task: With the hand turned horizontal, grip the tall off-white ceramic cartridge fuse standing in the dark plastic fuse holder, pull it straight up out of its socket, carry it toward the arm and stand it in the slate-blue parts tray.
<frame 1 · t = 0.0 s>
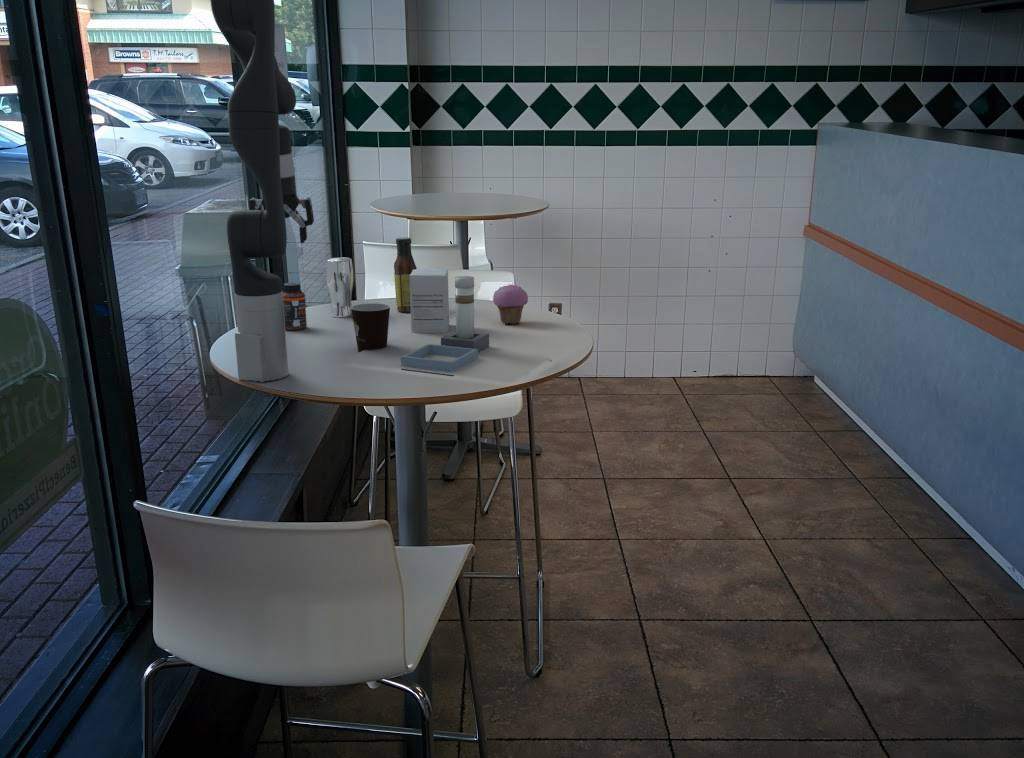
hand: (284, 242, 209), 22 cm above the table, tool pointing down, fingers open, 8 cm apart
beer glass: (342, 316, 238), on the table
fuse holder: (465, 353, 199), on the table
fuse: (465, 348, 199), point 1 cm above the table, touching fuse holder
parts tray: (440, 366, 188), on the table
cupcake: (510, 324, 228), on the table
supplement box: (430, 333, 219), on the table
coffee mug: (372, 349, 203), on the table
sauce bottle: (407, 311, 243), on the table
supplement bottle: (294, 329, 223), on the table
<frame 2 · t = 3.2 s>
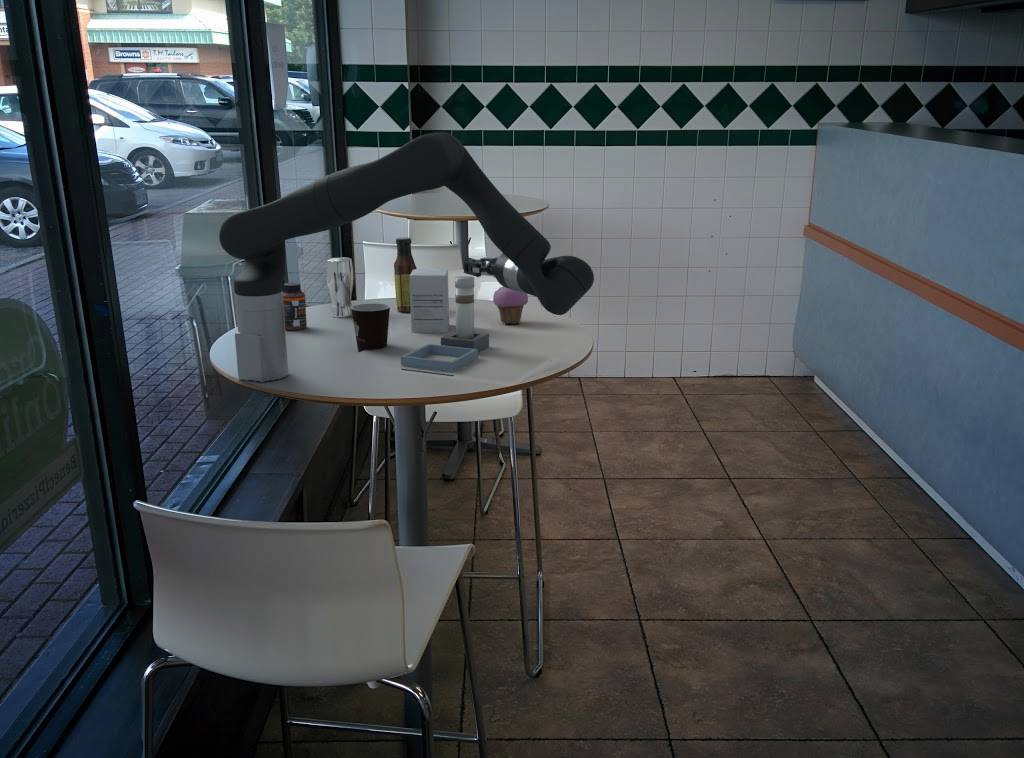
hand: (485, 261, 184), 22 cm above the table, tool horizontal, fingers open, 8 cm apart
nothing on the table moved.
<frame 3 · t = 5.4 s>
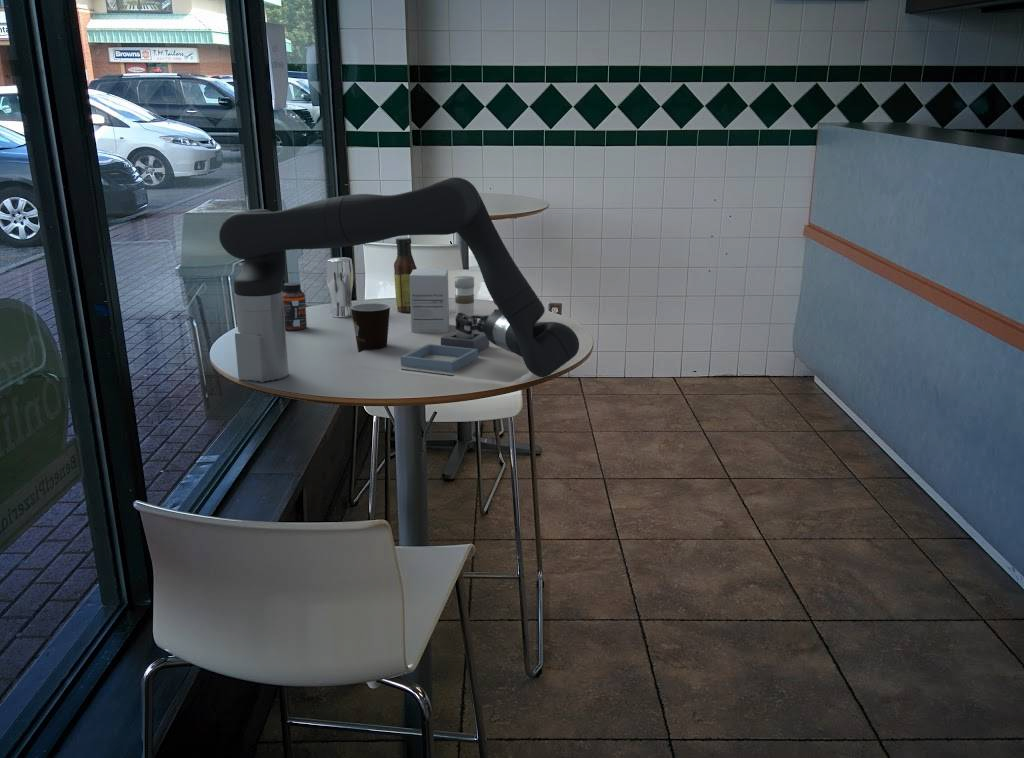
hand: (477, 315, 190), 10 cm above the table, tool horizontal, fingers open, 8 cm apart
nothing on the table moved.
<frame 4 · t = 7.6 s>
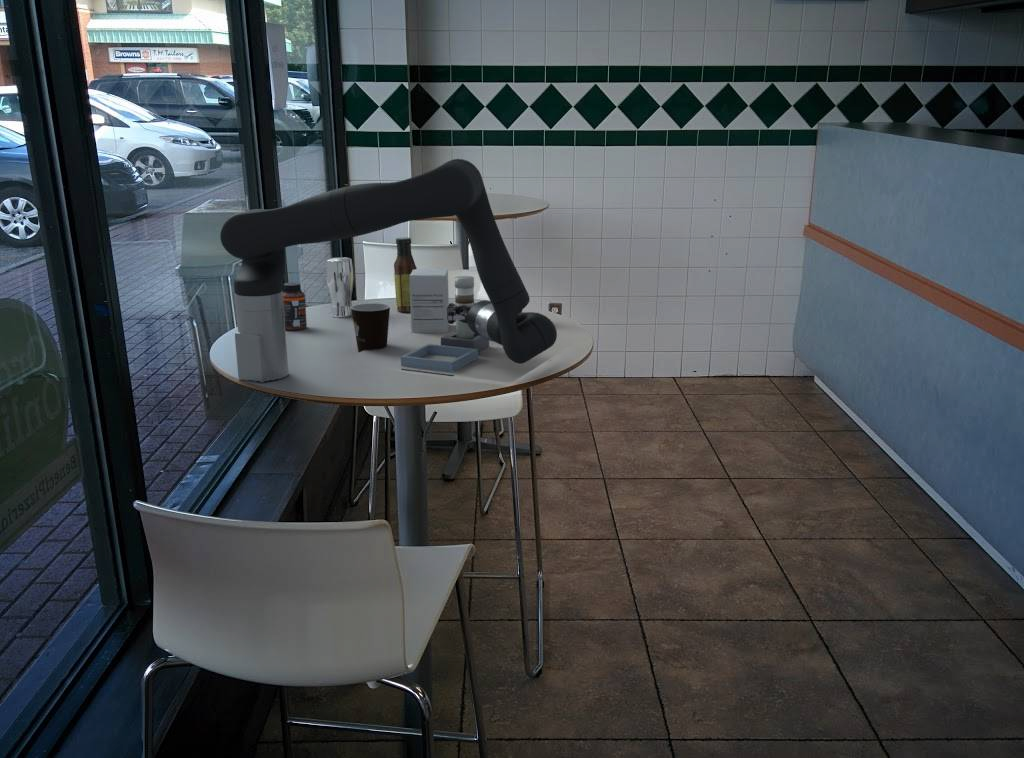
hand: (459, 306, 199), 10 cm above the table, tool horizontal, fingers closed on fuse, 4 cm apart
fuse: (465, 348, 199), point 1 cm above the table, touching fuse holder, gripper
everything else where it was.
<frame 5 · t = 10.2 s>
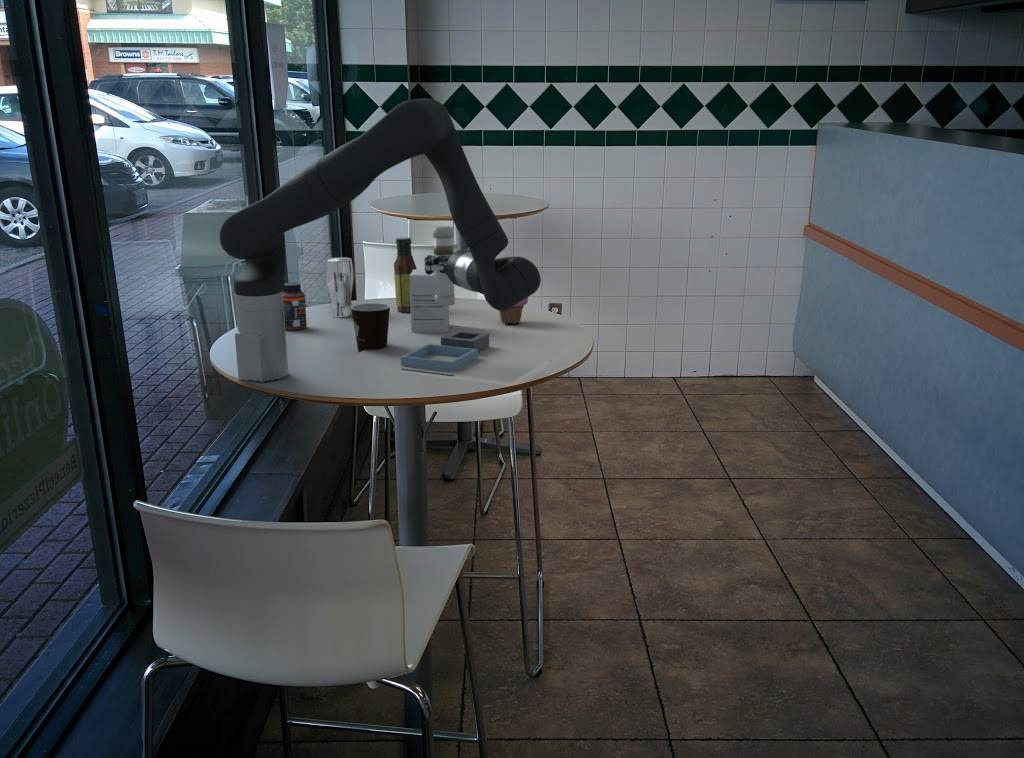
hand: (438, 259, 188), 22 cm above the table, tool horizontal, fingers closed on fuse, 4 cm apart
fuse: (444, 303, 188), point 13 cm above the table, touching gripper
everything else where it was.
when the fingers open (11 cm above the table, at t = 12.9 s): fuse drops 1 cm, resting on parts tray.
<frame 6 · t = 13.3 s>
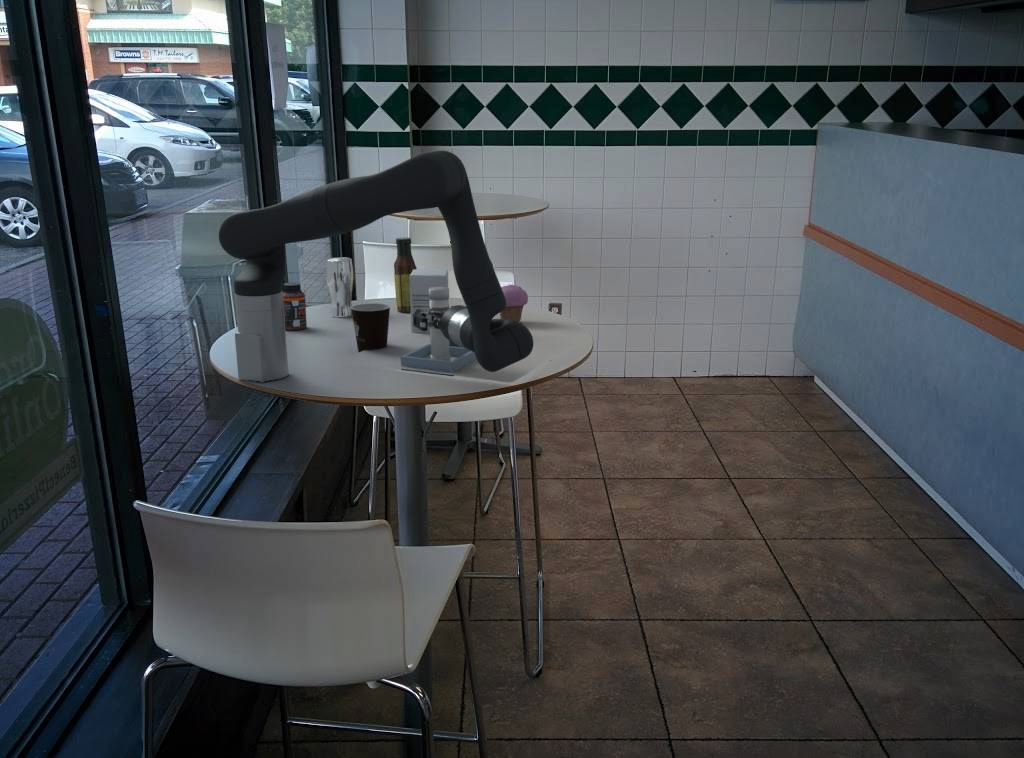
hand: (435, 312, 187), 11 cm above the table, tool horizontal, fingers open, 7 cm apart
fuse: (440, 363, 188), point 1 cm above the table, touching parts tray
everything else where it was.
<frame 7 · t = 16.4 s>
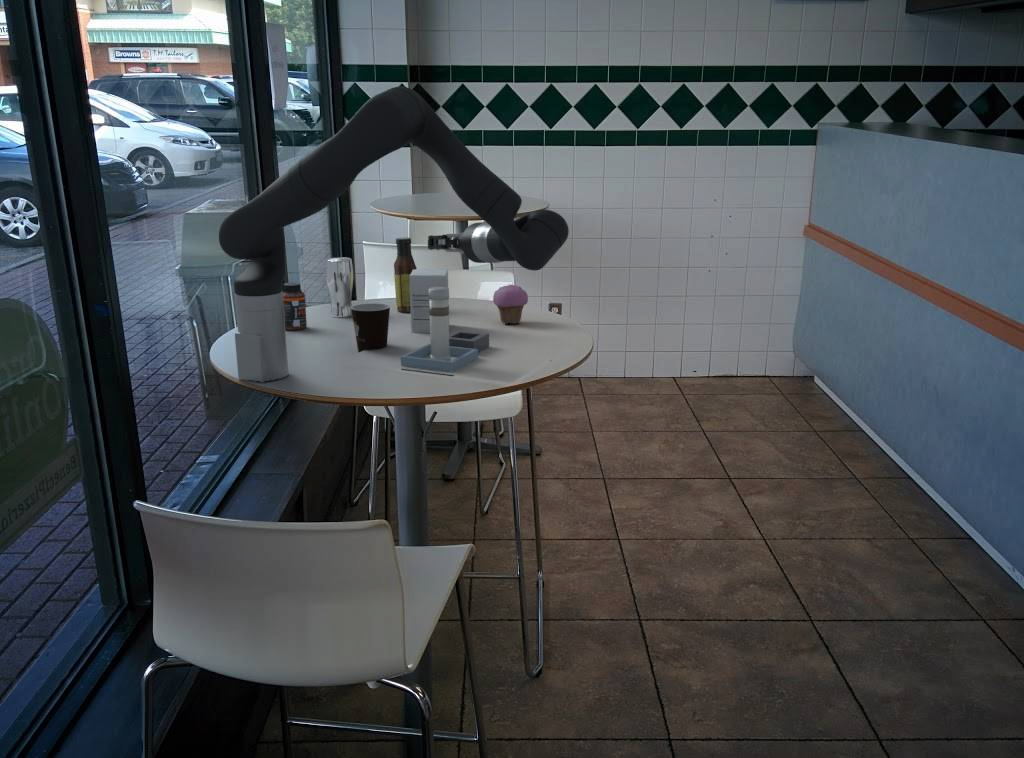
hand: (449, 244, 177), 26 cm above the table, tool horizontal, fingers open, 8 cm apart
nothing on the table moved.
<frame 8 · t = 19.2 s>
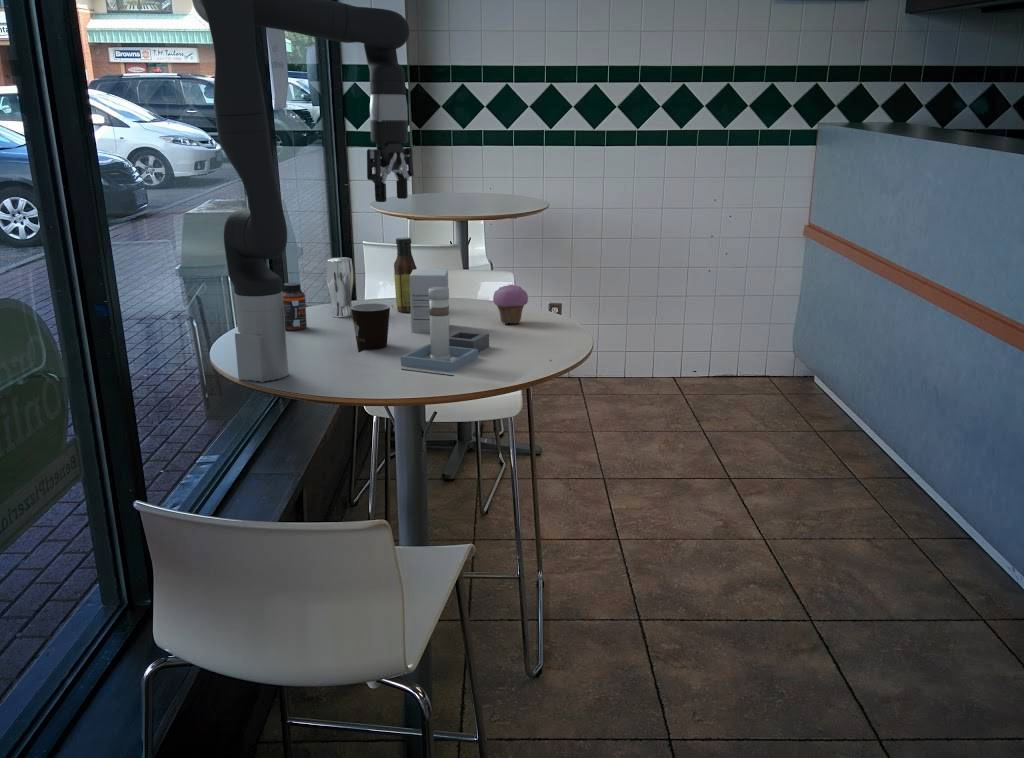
hand: (391, 200, 184), 34 cm above the table, tool pointing down, fingers open, 8 cm apart
nothing on the table moved.
at the end: fuse inside the target area on the parts tray (0.1 cm from its centre), point 0.6 cm above the parts tray's base; the gripper is holding nothing; fuse touching parts tray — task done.
